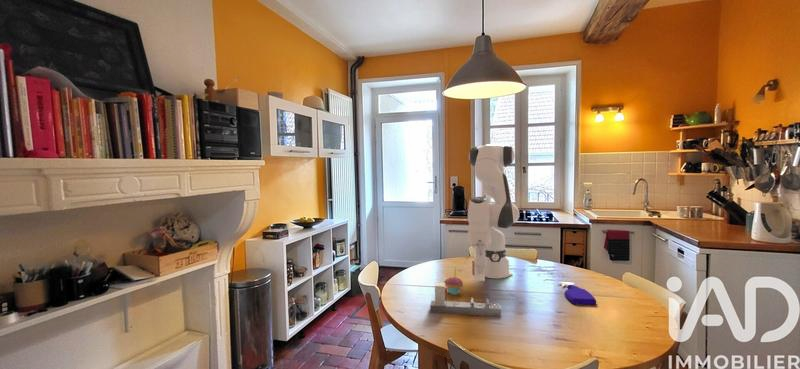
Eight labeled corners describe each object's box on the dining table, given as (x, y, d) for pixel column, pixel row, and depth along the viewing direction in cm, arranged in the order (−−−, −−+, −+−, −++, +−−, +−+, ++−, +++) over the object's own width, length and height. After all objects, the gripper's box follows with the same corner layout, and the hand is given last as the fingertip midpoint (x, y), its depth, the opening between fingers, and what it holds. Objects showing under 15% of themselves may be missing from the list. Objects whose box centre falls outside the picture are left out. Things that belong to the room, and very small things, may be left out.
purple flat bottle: (599, 299, 141) (578, 280, 166) (571, 298, 143) (554, 279, 167) (599, 306, 142) (578, 286, 166) (571, 305, 143) (554, 285, 167)
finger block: (472, 277, 139) (472, 258, 139) (484, 277, 138) (484, 258, 138) (472, 280, 135) (472, 260, 135) (484, 281, 134) (484, 261, 134)
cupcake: (449, 288, 165) (448, 264, 164) (465, 291, 161) (465, 266, 160) (442, 294, 158) (441, 269, 157) (459, 297, 153) (458, 271, 153)
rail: (431, 307, 144) (431, 282, 143) (499, 311, 139) (499, 284, 138) (430, 312, 139) (429, 286, 138) (501, 316, 134) (500, 289, 133)
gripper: (489, 243, 125) (489, 280, 126) (485, 232, 145) (485, 264, 146) (471, 243, 126) (472, 279, 127) (470, 232, 146) (471, 264, 147)
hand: (479, 271), depth 137 cm, fingers closed on finger block, 4 cm apart
